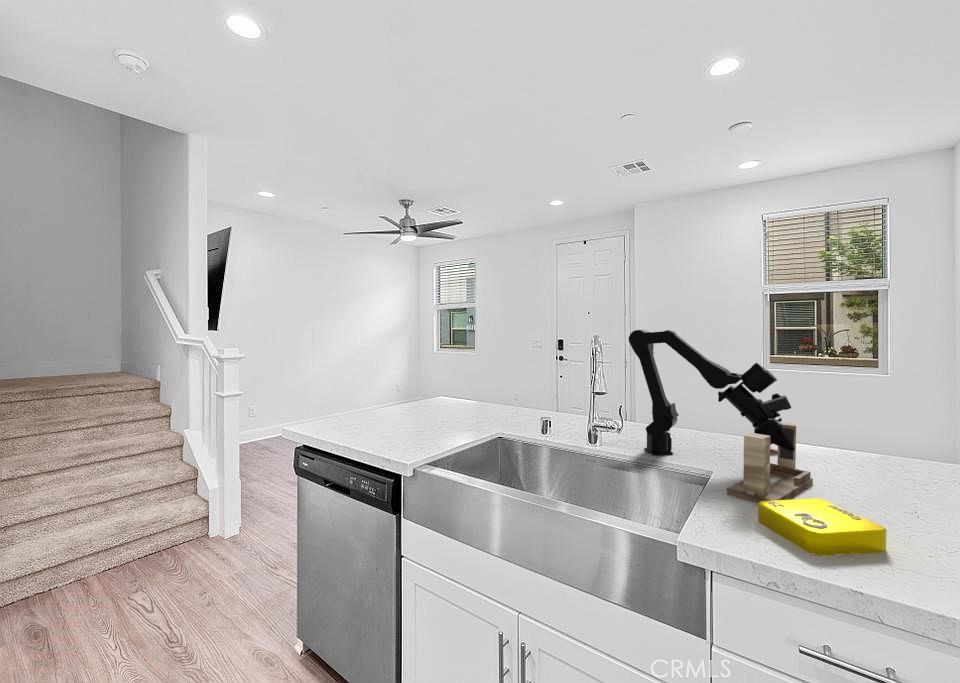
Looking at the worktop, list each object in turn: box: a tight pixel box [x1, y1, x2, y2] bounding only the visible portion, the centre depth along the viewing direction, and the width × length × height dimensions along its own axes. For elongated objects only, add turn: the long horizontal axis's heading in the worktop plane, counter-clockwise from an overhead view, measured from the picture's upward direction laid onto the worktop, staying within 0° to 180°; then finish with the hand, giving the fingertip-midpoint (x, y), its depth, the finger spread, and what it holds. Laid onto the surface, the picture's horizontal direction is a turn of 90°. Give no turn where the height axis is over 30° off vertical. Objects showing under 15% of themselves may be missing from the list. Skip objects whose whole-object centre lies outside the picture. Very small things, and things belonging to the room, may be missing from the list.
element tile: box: [757, 497, 887, 556], centre depth 86 cm, size 15×15×5 cm
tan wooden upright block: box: [776, 421, 797, 469], centre depth 122 cm, size 5×4×13 cm
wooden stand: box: [726, 432, 814, 505], centre depth 109 cm, size 24×10×14 cm, turn 127°
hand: (793, 448), depth 121 cm, fingers closed on tan wooden upright block, 5 cm apart
